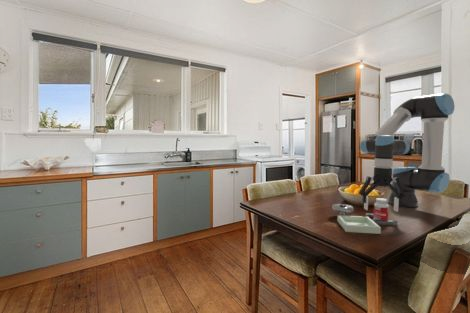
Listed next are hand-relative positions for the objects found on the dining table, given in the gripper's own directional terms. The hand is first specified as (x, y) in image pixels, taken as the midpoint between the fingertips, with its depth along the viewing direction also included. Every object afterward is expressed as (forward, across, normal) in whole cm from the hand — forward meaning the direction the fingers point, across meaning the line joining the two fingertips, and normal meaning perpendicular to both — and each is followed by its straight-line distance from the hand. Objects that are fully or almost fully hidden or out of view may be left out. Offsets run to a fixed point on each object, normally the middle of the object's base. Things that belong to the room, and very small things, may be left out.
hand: (380, 210), depth 116 cm
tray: (+6, +14, +10) cm, 18 cm away
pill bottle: (+6, 0, 0) cm, 6 cm away
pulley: (+6, +17, -3) cm, 18 cm away
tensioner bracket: (+6, 0, 0) cm, 6 cm away
